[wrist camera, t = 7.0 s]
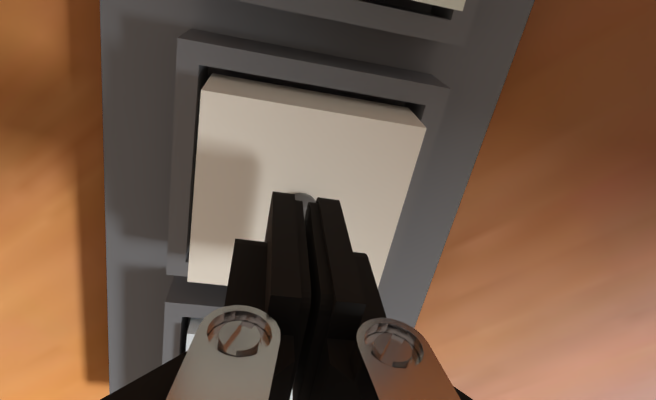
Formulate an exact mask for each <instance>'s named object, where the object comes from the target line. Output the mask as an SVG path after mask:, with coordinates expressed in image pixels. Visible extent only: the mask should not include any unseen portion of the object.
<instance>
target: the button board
mask: <svg viewBox="0 0 656 400" xmlns="http://www.w3.org/2000/svg"><path fill="white" fill-rule="evenodd" d="M534 1H535V0H466V1H465V5H464V8H463V11H459V10H454V9H450V8H445V7H440V6H436V5H431V4H427V3H422V2H417V1H413V0H100V27H101V67H102V106H103V146H104V186H105V226H106V265H107V305H108V345H109V385H110V394H111V393H113V392H115V391H117V390H118V389H120V388H122V387H124V386H126V385H127V384H129V383H131V382H133V381H134V380H136V379H138V378H140V377H142V376H143V375H145V374H147V373H149V372H150V371H152V370H154V369H156V368H157V367H159V366H161V365H163V364H165V363H166V362H168V361H170V360H172V359H173V358H175V357H177V356H179V355H181V354H182V353H184V352H186V341H187V332H188V328H189V324H190V320H191V317H192V318H203V319H204V318H205V316H207V315H208V314H210V313H211V312H212V311H214V310H217V309H219V308H222V307H224V305H225V299H226V292H227V286H226V285H215V284H205V283H195V282H187V278H188V264H189V250H190V237H191V223H192V209H193V195H194V181H195V167H196V153H197V140H198V126H199V112H200V98H201V89H202V88H203V86H204V85H205V83H206V82H207V80H208V79H209V77H210V76H211V74H212V73H215V74H220V75H226V76H232V77H237V78H243V79H249V80H254V81H260V82H266V83H271V84H277V85H283V86H288V87H294V88H300V89H305V90H311V91H317V92H323V93H328V94H334V95H340V96H345V97H351V98H357V99H362V100H368V101H374V102H379V103H385V104H391V105H396V106H402V107H408V108H409V109H410V110H411V111H412V112H413V113H414V114H415V115H416V117H417V118H418V119H419V120H420V121H421V122H422V123H423V125H424V126H425V127H426V128H427V129H426V132H425V135H424V139H423V142H422V145H421V149H420V152H419V155H418V158H417V162H416V165H415V168H414V171H413V175H412V178H411V181H410V185H409V188H408V191H407V194H406V198H405V201H404V204H403V207H402V211H401V214H400V217H399V221H398V224H397V227H396V230H395V234H394V237H393V240H392V243H391V247H390V250H389V253H388V257H387V260H386V263H385V266H384V270H383V273H382V276H381V279H380V283H379V286H378V291H379V294H380V298H381V301H382V304H383V307H384V311H385V314H386V317H387V318H390V319H394V320H398V321H401V322H403V323H405V324H407V325H409V326H411V327H413V328H414V327H415V324H416V322H417V319H418V316H419V313H420V311H421V308H422V305H423V303H424V300H425V297H426V294H427V292H428V289H429V286H430V283H431V281H432V278H433V275H434V273H435V270H436V267H437V264H438V262H439V259H440V256H441V254H442V251H443V248H444V245H445V243H446V240H447V237H448V235H449V232H450V229H451V226H452V224H453V221H454V218H455V215H456V213H457V210H458V207H459V205H460V202H461V199H462V196H463V194H464V191H465V188H466V186H467V183H468V180H469V177H470V175H471V172H472V169H473V167H474V164H475V161H476V158H477V156H478V153H479V150H480V147H481V145H482V142H483V139H484V137H485V134H486V131H487V128H488V126H489V123H490V120H491V118H492V115H493V112H494V109H495V107H496V104H497V101H498V99H499V96H500V93H501V90H502V88H503V85H504V82H505V79H506V77H507V74H508V71H509V69H510V66H511V63H512V60H513V58H514V55H515V52H516V50H517V47H518V44H519V41H520V39H521V36H522V33H523V31H524V28H525V25H526V22H527V20H528V17H529V14H530V11H531V9H532V6H533V3H534Z"/></svg>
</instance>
